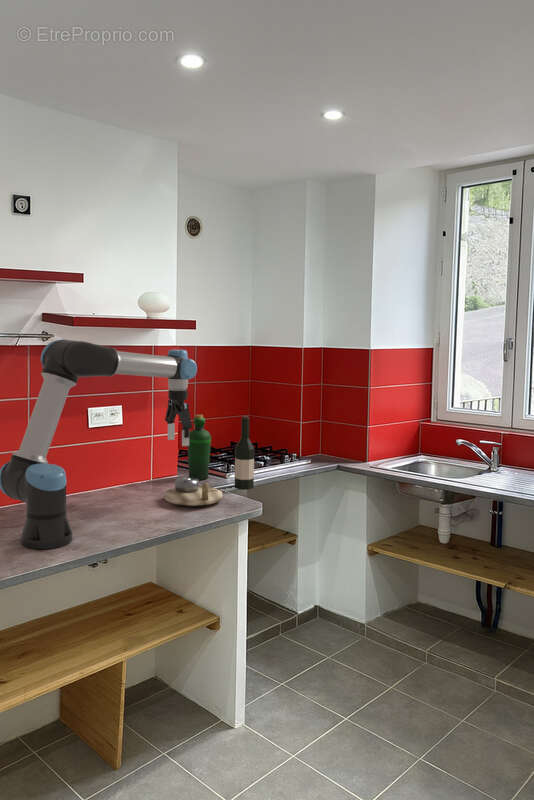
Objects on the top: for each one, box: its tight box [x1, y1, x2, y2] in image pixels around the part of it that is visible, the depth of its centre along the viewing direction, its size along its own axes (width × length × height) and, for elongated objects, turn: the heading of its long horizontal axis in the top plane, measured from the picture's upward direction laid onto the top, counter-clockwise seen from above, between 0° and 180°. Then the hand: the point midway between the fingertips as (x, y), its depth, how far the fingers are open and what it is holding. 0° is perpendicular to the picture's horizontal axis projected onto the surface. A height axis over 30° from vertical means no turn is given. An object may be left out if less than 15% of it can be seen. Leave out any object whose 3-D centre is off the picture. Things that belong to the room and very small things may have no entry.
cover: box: [174, 476, 199, 493], centre depth 255 cm, size 9×9×5 cm
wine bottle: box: [234, 415, 255, 491], centre depth 272 cm, size 8×8×30 cm
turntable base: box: [175, 503, 214, 508], centre depth 251 cm, size 16×16×1 cm
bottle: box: [187, 414, 212, 481], centre depth 285 cm, size 11×11×28 cm
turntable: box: [164, 482, 223, 506], centre depth 250 cm, size 22×22×8 cm
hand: (178, 442), depth 259 cm, fingers open, 13 cm apart
